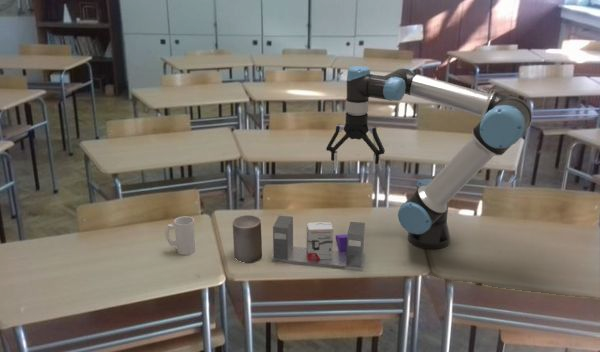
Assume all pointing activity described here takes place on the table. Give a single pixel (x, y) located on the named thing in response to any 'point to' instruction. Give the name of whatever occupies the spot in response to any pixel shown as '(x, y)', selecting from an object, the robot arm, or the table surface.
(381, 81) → the robot arm
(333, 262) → the rail
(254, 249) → the pillar candle
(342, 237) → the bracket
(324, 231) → the ink box
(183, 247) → the mug
